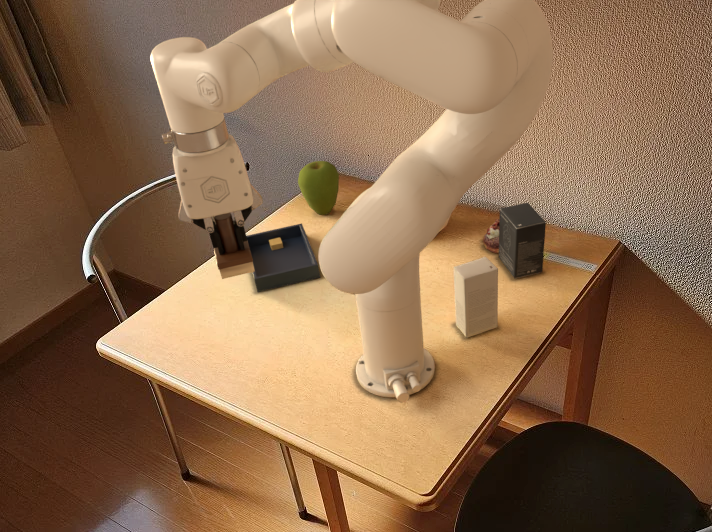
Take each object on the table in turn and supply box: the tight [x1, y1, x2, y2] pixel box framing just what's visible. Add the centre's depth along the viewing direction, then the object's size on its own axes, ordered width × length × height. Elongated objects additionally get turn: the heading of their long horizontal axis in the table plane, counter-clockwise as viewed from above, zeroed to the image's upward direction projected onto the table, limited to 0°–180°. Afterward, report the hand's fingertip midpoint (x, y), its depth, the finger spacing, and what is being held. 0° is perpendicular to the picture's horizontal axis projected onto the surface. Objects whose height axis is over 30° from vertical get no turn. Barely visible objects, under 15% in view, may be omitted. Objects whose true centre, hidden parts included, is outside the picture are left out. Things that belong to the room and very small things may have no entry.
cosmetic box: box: [453, 256, 499, 339], centre depth 120 cm, size 6×4×12 cm
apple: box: [297, 160, 340, 216], centre depth 154 cm, size 9×8×12 cm
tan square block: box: [269, 237, 283, 251], centre depth 148 cm, size 2×2×1 cm
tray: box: [246, 223, 321, 293], centre depth 144 cm, size 16×12×3 cm
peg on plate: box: [213, 212, 255, 280], centre depth 114 cm, size 7×5×9 cm
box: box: [498, 202, 547, 279], centre depth 133 cm, size 8×6×11 cm
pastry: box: [482, 218, 500, 254], centre depth 140 cm, size 8×8×5 cm
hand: (231, 247), depth 115 cm, fingers closed on peg on plate, 2 cm apart
